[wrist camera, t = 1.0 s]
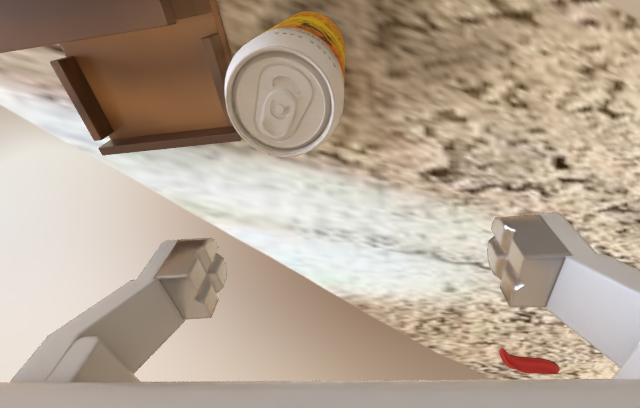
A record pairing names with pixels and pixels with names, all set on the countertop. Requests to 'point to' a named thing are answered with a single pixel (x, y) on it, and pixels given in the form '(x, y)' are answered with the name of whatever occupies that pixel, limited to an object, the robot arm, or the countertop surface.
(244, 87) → the beer can
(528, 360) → the cayenne pepper
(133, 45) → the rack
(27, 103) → the countertop surface
